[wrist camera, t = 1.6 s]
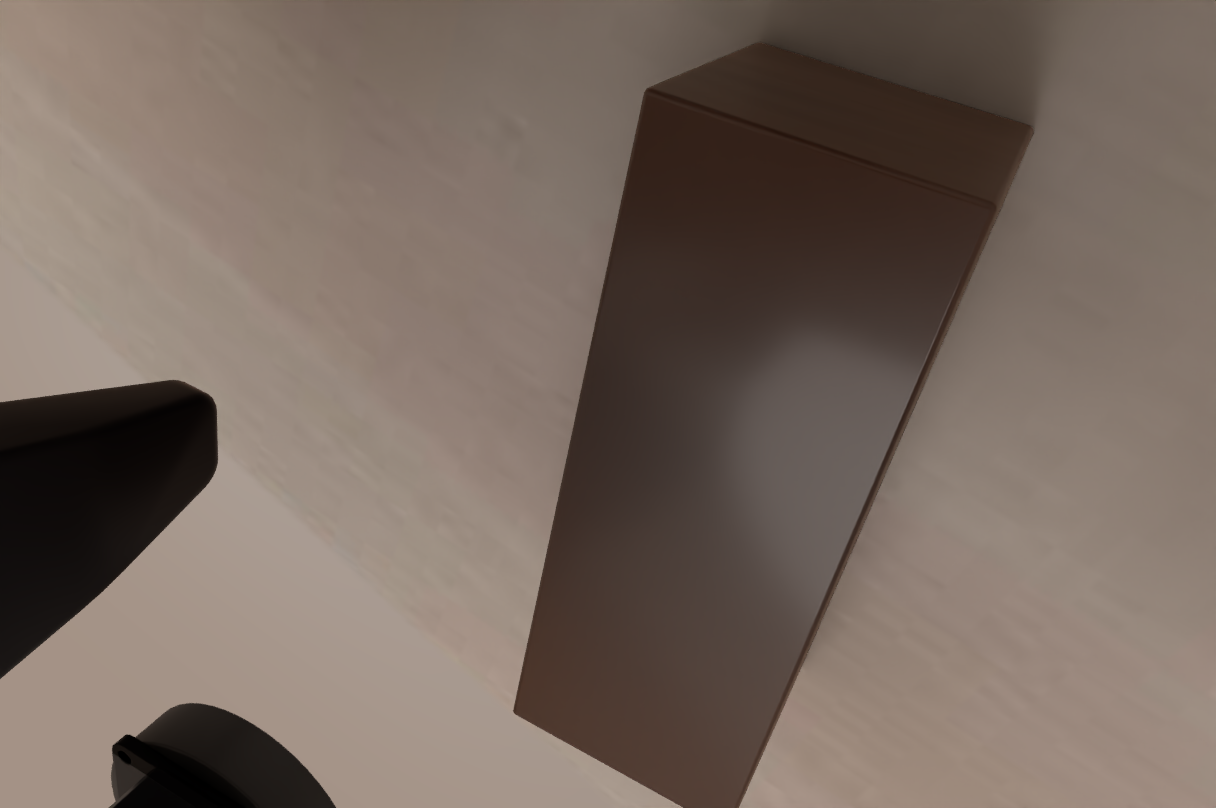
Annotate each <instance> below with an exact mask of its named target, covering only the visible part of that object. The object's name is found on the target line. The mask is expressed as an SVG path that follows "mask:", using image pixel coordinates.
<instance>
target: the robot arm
mask: <svg viewBox="0 0 1216 808" xmlns="http://www.w3.org/2000/svg"><path fill="white" fill-rule="evenodd" d="M217 464H218V439H217V409H216V404H215V402H214V400H213V398H212V397H211V396H210V395H209V394H207V393H205V392H203V391H201V390H199V389H197V388H195V387H193V386H191V385H189V384H187V383H185V382H182V381H178V380H168V381H160V382H153V383H145V384H138V385H130V386H122V387H114V388H107V389H99V390H91V391H84V392H76V393H68V394H61V395H53V396H45V397H38V398H30V399H22V400H15V401H8V402H0V679H1V678H2V677H3V676H4V675H5V674H6V673H8V672H9V671H10V670H11V669H12V668H14V667H15V666H16V665H17V664H18V663H20V662H21V661H22V660H23V659H24V658H25V657H26V656H28V655H29V654H30V653H31V652H33V651H34V650H35V649H36V648H37V647H38V646H40V645H41V644H42V643H43V642H44V641H46V640H47V639H48V638H49V637H50V636H51V635H52V634H54V633H55V632H56V631H57V630H58V629H60V628H61V627H62V626H63V625H64V624H66V623H67V622H68V621H69V620H70V619H72V618H73V617H74V616H75V615H76V614H78V613H79V612H80V611H81V610H82V609H83V608H85V606H87V605H88V604H89V603H90V602H91V601H92V600H93V599H95V598H96V597H97V596H98V595H99V594H100V593H101V592H103V591H104V589H106V588H107V586H109V584H111V583H112V582H113V581H114V580H115V579H116V578H117V577H118V576H119V575H120V574H121V573H122V572H123V571H124V570H125V569H126V568H127V567H128V566H129V565H130V564H131V563H132V562H133V561H134V560H135V559H136V558H137V557H138V556H139V555H140V553H141V552H142V551H143V550H144V549H145V548H146V547H147V546H148V545H149V544H150V543H151V542H152V541H153V540H154V539H155V538H156V537H157V536H158V535H159V534H160V533H161V532H162V531H163V530H164V529H165V528H166V527H167V526H168V525H169V524H170V523H171V521H173V520H174V519H175V517H177V516H178V515H179V513H180V512H181V511H182V510H183V509H184V508H185V507H186V506H187V505H188V504H189V503H190V502H191V501H192V500H193V499H194V498H195V497H196V496H197V495H198V494H199V493H200V492H201V491H202V490H203V489H204V488H205V487H206V485H207V484H208V483H209V482H210V480H211V479H212V477H213V475H214V473H215V471H216V468H217ZM112 754H113V762H114V770H115V778H116V786H117V795H118V800H117V801H116V802H115V803H114V804H113V805H111V806H110V807H109V808H245V807H243V806H242V805H240V804H238V803H237V802H235V801H234V800H232V799H231V798H229V797H228V796H226V795H224V794H223V793H221V792H220V791H218V790H217V789H215V788H213V787H212V786H210V785H209V784H207V783H206V782H204V781H203V780H201V779H199V778H198V777H196V776H195V775H193V774H192V773H190V772H189V771H187V770H185V769H184V768H182V767H181V766H179V765H178V764H176V763H175V762H173V761H171V760H170V759H168V758H167V757H165V756H164V755H162V754H161V753H159V752H157V751H156V750H154V749H153V748H151V747H150V746H148V745H147V744H145V743H143V742H142V741H140V740H139V739H137V738H136V737H134V736H132V735H128V734H126V735H125V736H123V737H122V738H121V739H120V740H119V741H117V742H116V743H115V744H114V745H113V746H112Z"/></svg>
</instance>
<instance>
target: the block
mask: <svg viewBox="0 0 1216 808" xmlns="http://www.w3.org/2000/svg"><path fill="white" fill-rule="evenodd" d="M1033 134H1034V129H1033V128H1032V127H1031V126H1029V125H1026V124H1023V123H1020V122H1016V121H1013V120H1010V119H1007V118H1003V117H1000V116H997V115H994V114H990V113H987V112H984V111H981V110H978V109H974V108H971V107H968V106H965V105H961V104H958V103H955V102H952V101H948V100H945V99H942V98H939V97H935V96H932V95H929V94H926V93H923V92H919V91H916V90H913V89H910V88H906V87H903V86H900V85H897V84H893V83H890V82H887V81H884V80H880V79H877V78H874V77H871V76H867V75H864V74H861V73H858V72H855V71H851V70H848V69H845V68H842V67H838V66H835V65H832V64H829V63H825V62H822V61H819V60H816V59H812V58H809V57H806V56H803V55H800V54H796V53H793V52H790V51H787V50H783V49H780V48H777V47H774V46H770V45H767V44H764V43H761V42H760V43H755V44H753V45H750V46H748V47H745V48H743V49H741V50H738V51H736V52H733V53H731V54H729V55H726V56H724V57H721V58H719V59H716V60H714V61H712V62H709V63H707V64H704V65H702V66H700V67H697V68H695V69H692V70H690V71H687V72H685V73H683V74H680V75H678V76H675V77H673V78H670V79H668V80H666V81H663V82H661V83H658V84H656V85H654V86H651V87H649V88H647V89H646V91H645V92H644V96H643V101H642V105H641V110H640V115H639V120H638V124H637V129H636V134H635V138H634V143H633V148H632V153H631V157H630V162H629V167H628V172H627V176H626V181H625V186H624V190H623V195H622V200H621V205H620V209H619V214H618V219H617V223H616V228H615V233H614V238H613V242H612V247H611V252H610V256H609V261H608V266H607V271H606V275H605V280H604V285H603V289H602V294H601V299H600V304H599V308H598V313H597V318H596V323H595V327H594V332H593V337H592V341H591V346H590V351H589V356H588V360H587V365H586V370H585V374H584V379H583V384H582V389H581V393H580V398H579V403H578V407H577V412H576V417H575V422H574V426H573V431H572V436H571V440H570V445H569V450H568V455H567V459H566V464H565V469H564V474H563V478H562V483H561V488H560V492H559V497H558V502H557V507H556V511H555V516H554V521H553V525H552V530H551V535H550V540H549V544H548V549H547V554H546V558H545V563H544V568H543V573H542V577H541V582H540V587H539V591H538V596H537V601H536V606H535V610H534V615H533V620H532V625H531V629H530V634H529V639H528V643H527V648H526V653H525V658H524V662H523V667H522V672H521V676H520V681H519V686H518V691H517V695H516V700H515V705H514V710H513V712H514V713H515V714H516V715H518V716H519V717H521V718H523V719H525V720H527V721H528V722H530V723H532V724H534V725H536V726H537V727H539V728H541V729H543V730H545V731H546V732H548V733H550V734H552V735H554V736H555V737H557V738H559V739H561V740H563V741H564V742H566V743H568V744H570V745H572V746H573V747H575V748H577V749H579V750H581V751H582V752H584V753H586V754H588V755H590V756H591V757H593V758H595V759H597V760H599V761H600V762H602V763H604V764H606V765H608V766H609V767H611V768H613V769H615V770H617V771H619V772H620V773H622V774H624V775H626V776H628V777H629V778H631V779H633V780H635V781H637V782H638V783H640V784H642V785H644V786H646V787H647V788H649V789H651V790H653V791H655V792H656V793H658V794H660V795H662V796H664V797H665V798H667V799H669V800H671V801H673V802H674V803H676V804H678V805H680V806H682V807H683V808H739V806H740V804H741V802H742V799H743V797H744V795H745V793H746V791H747V788H748V786H749V784H750V782H751V779H752V777H753V775H754V773H755V770H756V768H757V766H758V764H759V761H760V759H761V757H762V755H763V752H764V750H765V748H766V746H767V743H768V741H769V739H770V737H771V734H772V732H773V730H774V728H775V726H776V723H777V721H778V719H779V717H780V714H781V712H782V710H783V708H784V705H785V703H786V701H787V699H788V696H789V694H790V692H791V690H792V687H793V685H794V683H795V681H796V678H797V676H798V674H799V672H800V669H801V667H802V665H803V663H804V660H805V658H806V656H807V653H808V651H809V649H810V646H811V644H812V642H813V640H814V637H815V635H816V633H817V630H818V628H819V626H820V623H821V621H822V619H823V617H824V614H825V612H826V610H827V607H828V605H829V603H830V600H831V598H832V596H833V594H834V591H835V589H836V587H837V584H838V582H839V580H840V577H841V575H842V573H843V571H844V568H845V566H846V564H847V561H848V559H849V557H850V554H851V552H852V550H853V548H854V545H855V543H856V541H857V538H858V536H859V534H860V531H861V529H862V527H863V525H864V522H865V520H866V518H867V515H868V513H869V511H870V508H871V506H872V504H873V502H874V499H875V497H876V495H877V492H878V490H879V488H880V485H881V483H882V481H883V479H884V476H885V474H886V472H887V469H888V467H889V465H890V462H891V460H892V458H893V456H894V453H895V451H896V449H897V446H898V444H899V442H900V439H901V437H902V435H903V433H904V430H905V428H906V426H907V423H908V421H909V419H910V416H911V414H912V412H913V410H914V407H915V405H916V403H917V400H918V398H919V396H920V393H921V391H922V389H923V387H924V384H925V382H926V380H927V377H928V375H929V373H930V370H931V368H932V366H933V364H934V361H935V359H936V357H937V354H938V352H939V350H940V347H941V345H942V343H943V341H944V338H945V336H946V334H947V331H948V329H949V327H950V324H951V322H952V320H953V318H954V315H955V313H956V311H957V308H958V306H959V304H960V301H961V299H962V297H963V295H964V292H965V290H966V288H967V285H968V283H969V281H970V278H971V276H972V274H973V272H974V269H975V267H976V265H977V262H978V260H979V258H980V255H981V253H982V251H983V249H984V246H985V244H986V242H987V239H988V237H989V235H990V232H991V230H992V228H993V226H994V223H995V221H996V219H997V216H998V214H999V212H1000V209H1001V207H1002V205H1003V203H1004V200H1005V198H1006V196H1007V193H1008V191H1009V189H1010V186H1011V184H1012V182H1013V180H1014V177H1015V175H1016V173H1017V170H1018V168H1019V166H1020V163H1021V161H1022V159H1023V157H1024V154H1025V152H1026V150H1027V147H1028V145H1029V143H1030V140H1031V138H1032V136H1033Z"/></svg>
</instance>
